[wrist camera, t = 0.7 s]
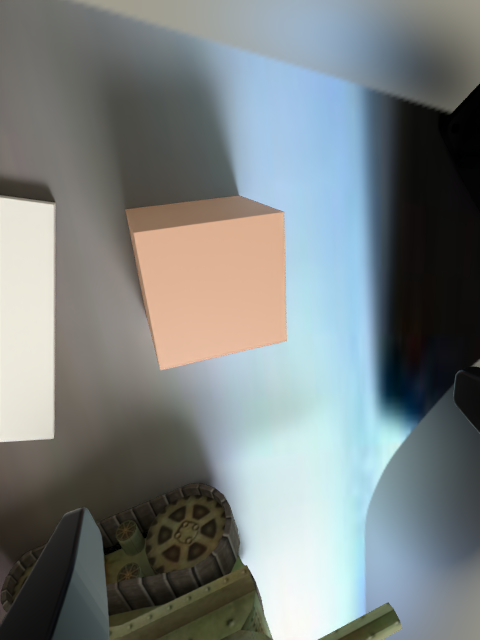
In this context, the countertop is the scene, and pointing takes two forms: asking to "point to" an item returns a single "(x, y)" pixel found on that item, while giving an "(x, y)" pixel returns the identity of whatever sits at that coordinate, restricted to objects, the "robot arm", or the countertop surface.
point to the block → (210, 276)
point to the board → (27, 319)
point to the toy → (185, 575)
